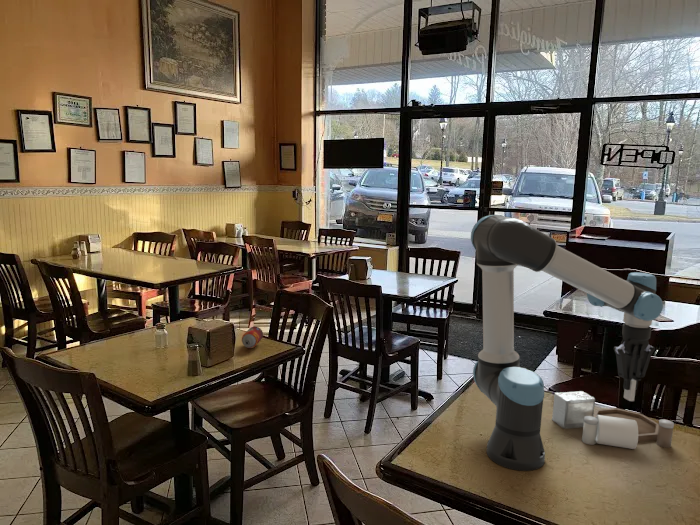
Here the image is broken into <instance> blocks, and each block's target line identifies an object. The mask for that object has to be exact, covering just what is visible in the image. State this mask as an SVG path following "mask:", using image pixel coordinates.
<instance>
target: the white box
mask: <svg viewBox="0 0 700 525" xmlns="http://www.w3.org/2000/svg"><path fill="white" fill-rule="evenodd" d="M553 394H554V397H553V406H552V418H551V420H552V421H553V422H554V423H555V424H557V425H558V426H559V427H560V428H562V429H574V428H576V429H577V428H583V426H584V417H585V416H592V417H593V416H594V412H595V406H596V398H595V397H594V396H592V395H590V394H589V393H587V392H584V391H583V390H579V391H567V392H566V391H565V392H564V391H563V392H554V393H553Z"/></svg>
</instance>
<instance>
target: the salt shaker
mask: <svg viewBox="0 0 700 525" xmlns="http://www.w3.org/2000/svg"><path fill="white" fill-rule="evenodd" d="M597 425H598V419H597V418H595V417H592V416H585V417H584V426H583V427H582V437H581V441H582V442H583V443H584V444H587V445H591V446H592V445H593V446H594V445H596V444H597V443H596V434H597Z"/></svg>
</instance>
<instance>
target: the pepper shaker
mask: <svg viewBox="0 0 700 525" xmlns="http://www.w3.org/2000/svg"><path fill="white" fill-rule="evenodd" d="M674 423H675V422H673V421H671V420H668V419H664V418H663V419H659V420H658V424H659V427H658V435H657V440H656V445H657V446H659V447H660V448H661V447H662V448H665V449H670V448H671V447H672V442H673V432H674V426H675V424H674Z"/></svg>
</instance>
